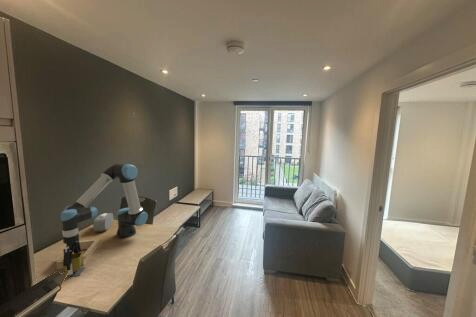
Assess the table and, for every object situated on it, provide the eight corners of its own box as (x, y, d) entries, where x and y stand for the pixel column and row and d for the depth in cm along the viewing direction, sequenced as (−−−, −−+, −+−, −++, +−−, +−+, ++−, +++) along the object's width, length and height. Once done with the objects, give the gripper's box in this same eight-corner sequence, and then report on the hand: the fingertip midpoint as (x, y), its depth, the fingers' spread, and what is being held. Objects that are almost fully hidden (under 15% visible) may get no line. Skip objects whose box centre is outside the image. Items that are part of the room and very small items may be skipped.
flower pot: (62, 276, 120) (61, 261, 120) (66, 269, 128) (65, 255, 127) (80, 271, 124) (79, 257, 124) (83, 265, 132) (83, 251, 132)
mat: (85, 267, 132) (85, 266, 132) (79, 275, 124) (79, 274, 124) (69, 270, 129) (68, 269, 129) (62, 278, 122) (62, 277, 122)
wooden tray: (101, 245, 159) (100, 238, 159) (85, 266, 133) (85, 257, 132) (73, 249, 154) (72, 241, 153) (51, 271, 128) (50, 263, 127)
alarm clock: (102, 224, 198) (102, 211, 197) (113, 223, 201) (112, 210, 199) (93, 234, 178) (92, 219, 177) (105, 232, 181) (104, 218, 179)
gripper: (72, 228, 134) (75, 260, 136) (52, 244, 113) (56, 282, 115) (85, 226, 136) (88, 258, 138) (69, 242, 115) (72, 279, 117)
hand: (73, 269), depth 126 cm, fingers closed on flower pot, 9 cm apart
